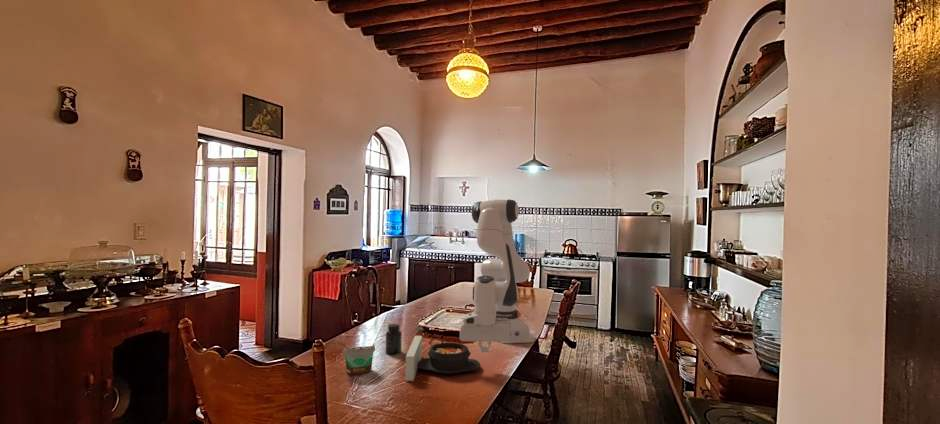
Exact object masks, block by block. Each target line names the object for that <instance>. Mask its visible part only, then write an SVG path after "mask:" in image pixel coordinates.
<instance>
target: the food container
mask: <svg viewBox="0 0 940 424" xmlns="http://www.w3.org/2000/svg"><path fill="white" fill-rule="evenodd" d="M374 352H376V347H375V344H374V343H373V344H372V345H370V346H369V345H368V346H356V347H352V348H346V347H345V346H344V348H343V350H342V353H343V354H344V359H345V360H344V361H345V370H346V374H347V375H349V376H353V377H357V376H359V377H360V376H365V375H369V374H370V373H371V372H372V367H373V360H374V359H373V357H374Z"/></svg>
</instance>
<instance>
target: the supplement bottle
mask: <svg viewBox="0 0 940 424" xmlns="http://www.w3.org/2000/svg"><path fill="white" fill-rule="evenodd" d="M402 339H403V338H402V331H401V330H400V324H399V323H390V324H388V327H387V331H386V333H385V353H386V354H387V355H391V356H395V355H397V356H398V355H400V354H401V353H402V345H403V344H402Z"/></svg>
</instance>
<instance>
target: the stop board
mask: <svg viewBox="0 0 940 424" xmlns="http://www.w3.org/2000/svg"><path fill="white" fill-rule="evenodd" d="M422 353H423V335H414V338H412V342H411V344H410V346H409V349H408V351H407V352H406V355H405V374H404V377H405V379H404V380H405V382H407V381H409V382H414V380H415V378H416V375H417V371H418V369H419V367H418V362H419V361H420V360H422V359H423V358H422V357H423V354H422Z"/></svg>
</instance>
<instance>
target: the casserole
mask: <svg viewBox="0 0 940 424" xmlns="http://www.w3.org/2000/svg"><path fill="white" fill-rule="evenodd" d="M427 356H428V357H426V358H421V360H420V361H419V362H418V369H421V370H425V371H431V372H435V373H439V374H444V375H448V374H449V375H450V374H451V375H452V374H454V375H455V374H459V373H464V372H471V371H477V370H479V368H480V367H481V363H480V361H479V360H477V359H475V358H470V356H471V352H470V350H469V347H468V346H467V345H465V344H462V343H458V342H441V343H440V342H439V343H437V344H433V345H432V346H430V349H429V351H428V352H427Z"/></svg>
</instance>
